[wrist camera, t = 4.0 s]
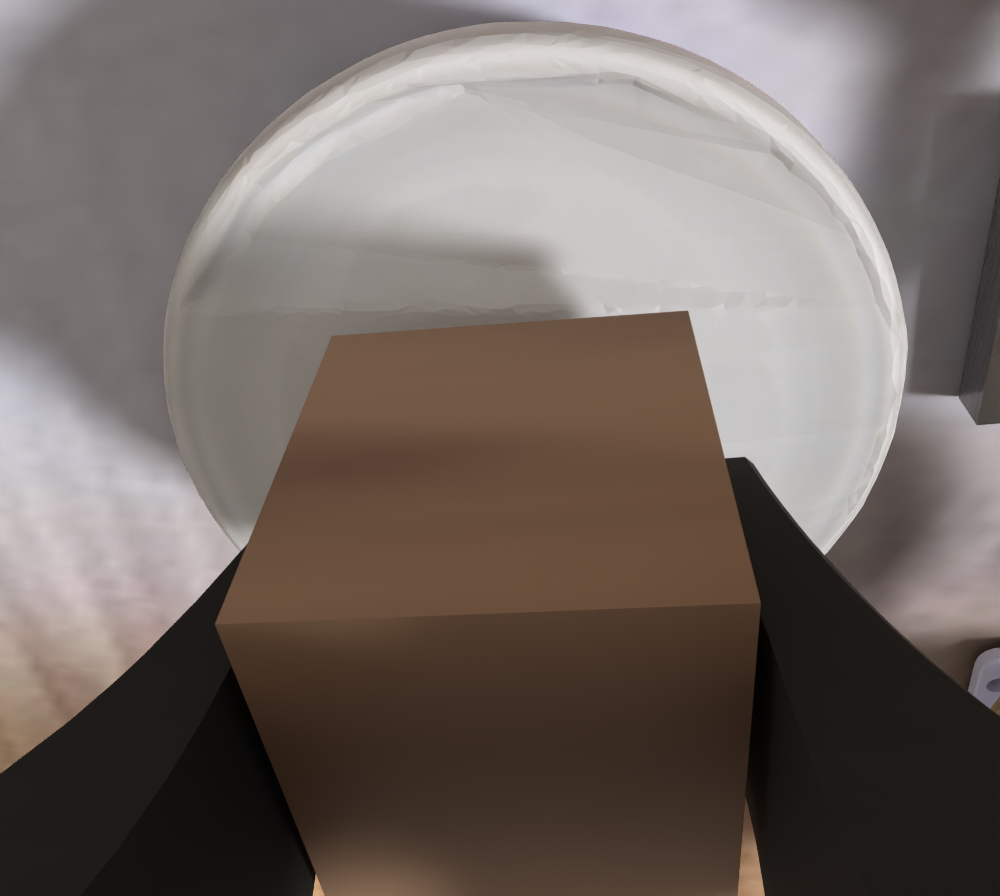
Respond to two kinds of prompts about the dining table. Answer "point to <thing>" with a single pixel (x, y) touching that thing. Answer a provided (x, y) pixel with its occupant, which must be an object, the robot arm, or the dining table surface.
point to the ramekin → (542, 249)
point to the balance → (986, 344)
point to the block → (505, 615)
